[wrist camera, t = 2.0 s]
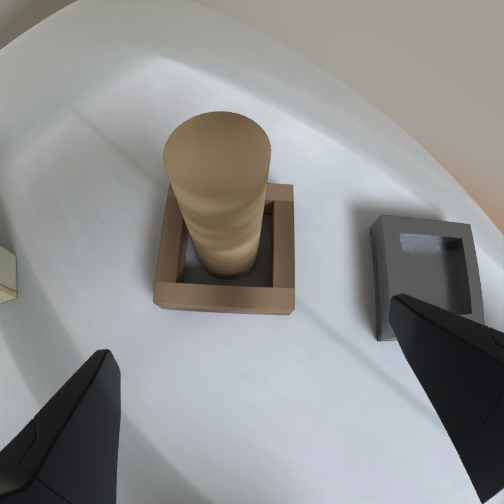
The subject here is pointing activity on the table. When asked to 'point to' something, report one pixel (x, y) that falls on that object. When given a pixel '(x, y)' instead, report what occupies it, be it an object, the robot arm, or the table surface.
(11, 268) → the skincare box
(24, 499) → the robot arm
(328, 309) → the table surface
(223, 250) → the oak axle peg
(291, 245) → the walnut collar block
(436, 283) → the metal cradle
